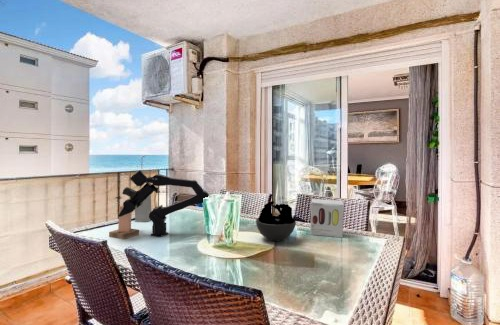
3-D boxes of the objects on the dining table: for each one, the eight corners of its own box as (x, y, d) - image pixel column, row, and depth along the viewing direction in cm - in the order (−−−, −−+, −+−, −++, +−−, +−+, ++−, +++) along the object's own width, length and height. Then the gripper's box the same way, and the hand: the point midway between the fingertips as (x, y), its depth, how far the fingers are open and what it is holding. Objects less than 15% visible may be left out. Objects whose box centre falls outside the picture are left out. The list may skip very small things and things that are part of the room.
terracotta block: (130, 229, 148) (131, 204, 148) (128, 231, 143) (129, 206, 143) (120, 229, 147) (121, 204, 147) (118, 231, 142) (119, 206, 142)
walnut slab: (139, 235, 147) (139, 229, 147) (123, 240, 138) (123, 234, 138) (125, 233, 151) (125, 227, 151) (109, 237, 142) (109, 231, 142)
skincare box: (151, 219, 180) (152, 195, 180) (146, 222, 173) (147, 196, 173) (139, 219, 181) (139, 194, 181) (133, 221, 174) (133, 196, 174)
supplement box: (310, 235, 152) (310, 202, 152) (310, 229, 165) (311, 198, 165) (343, 237, 148) (344, 203, 148) (341, 231, 161) (342, 200, 161)
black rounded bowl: (294, 247, 130) (295, 207, 130) (252, 244, 134) (252, 205, 134) (296, 236, 150) (296, 201, 149) (259, 233, 154) (259, 199, 153)
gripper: (137, 180, 154) (115, 200, 153) (127, 183, 136) (103, 206, 134) (152, 194, 155) (131, 214, 154) (144, 199, 137) (120, 222, 136)
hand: (121, 214), depth 144 cm, fingers open, 9 cm apart
